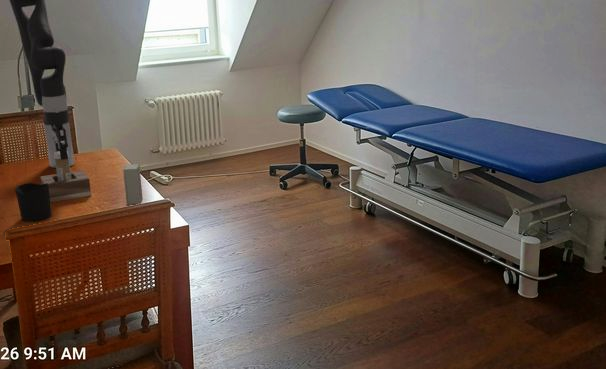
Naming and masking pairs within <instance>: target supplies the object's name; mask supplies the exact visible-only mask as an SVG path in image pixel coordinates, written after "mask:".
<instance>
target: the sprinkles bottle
mask: <svg viewBox="0 0 606 369" xmlns="http://www.w3.org/2000/svg"><path fill="white" fill-rule="evenodd" d="M67 154H68V151H67ZM68 157H69V154H68ZM54 158H55V161H56V168H55V169H56V174H57V177H58V181H64V180H70V179H71V172H72V171H71V166H69V159H65V160H62V159H61V157H60V151H57V152H55V153H54Z"/></svg>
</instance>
